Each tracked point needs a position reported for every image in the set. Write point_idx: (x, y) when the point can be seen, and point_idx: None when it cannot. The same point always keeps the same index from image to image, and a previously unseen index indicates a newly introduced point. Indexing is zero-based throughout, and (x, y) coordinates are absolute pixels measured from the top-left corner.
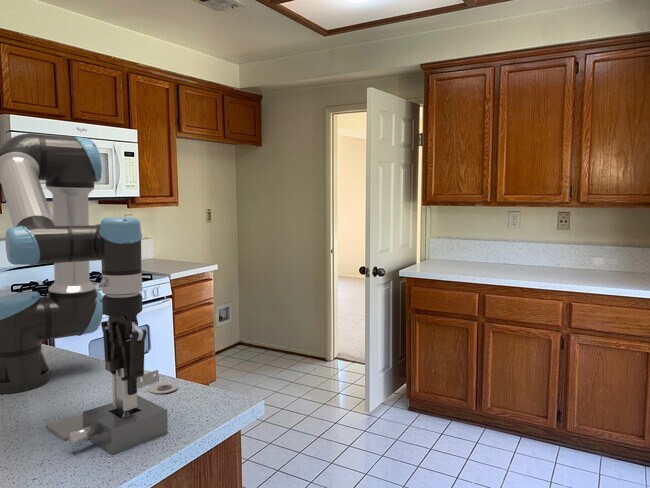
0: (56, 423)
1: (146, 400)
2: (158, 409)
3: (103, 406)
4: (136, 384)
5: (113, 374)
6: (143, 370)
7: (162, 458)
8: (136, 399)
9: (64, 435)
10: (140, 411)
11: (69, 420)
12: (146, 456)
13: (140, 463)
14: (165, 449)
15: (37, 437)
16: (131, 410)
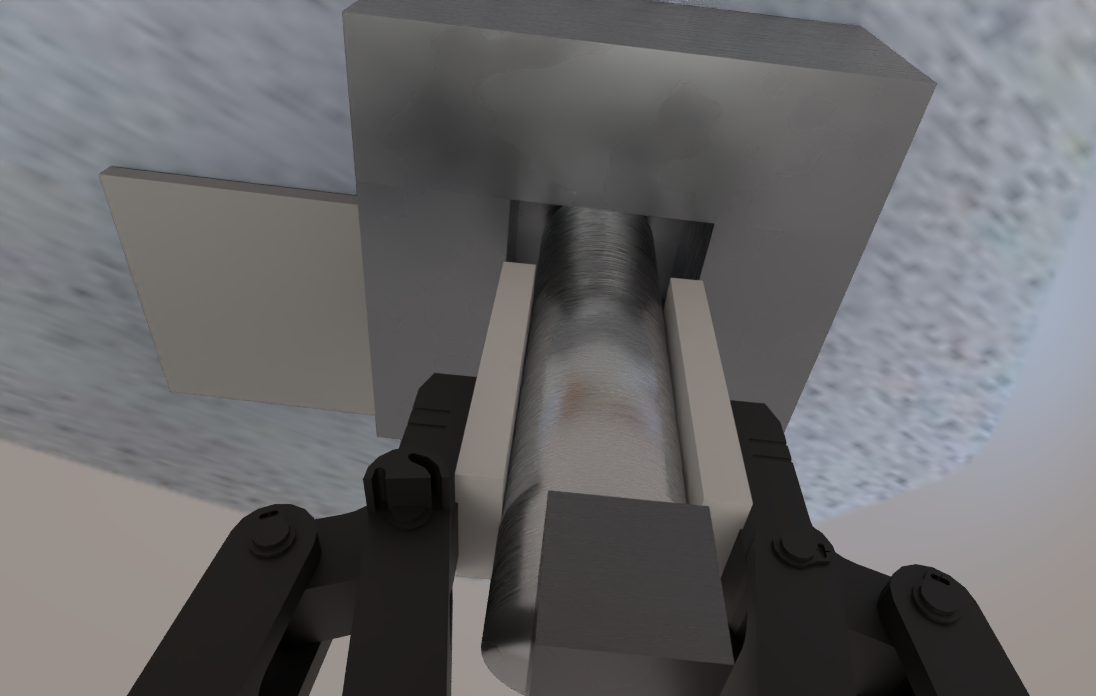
0: (189, 362)
1: (560, 51)
2: (841, 127)
3: (390, 332)
4: (795, 482)
5: (459, 568)
6: (998, 652)
7: (1041, 274)
8: (711, 327)
9: (372, 406)
10: (718, 242)
11: (189, 310)
12: (928, 304)
13: (944, 358)
14: (996, 198)
15: (275, 443)
16: (659, 290)
